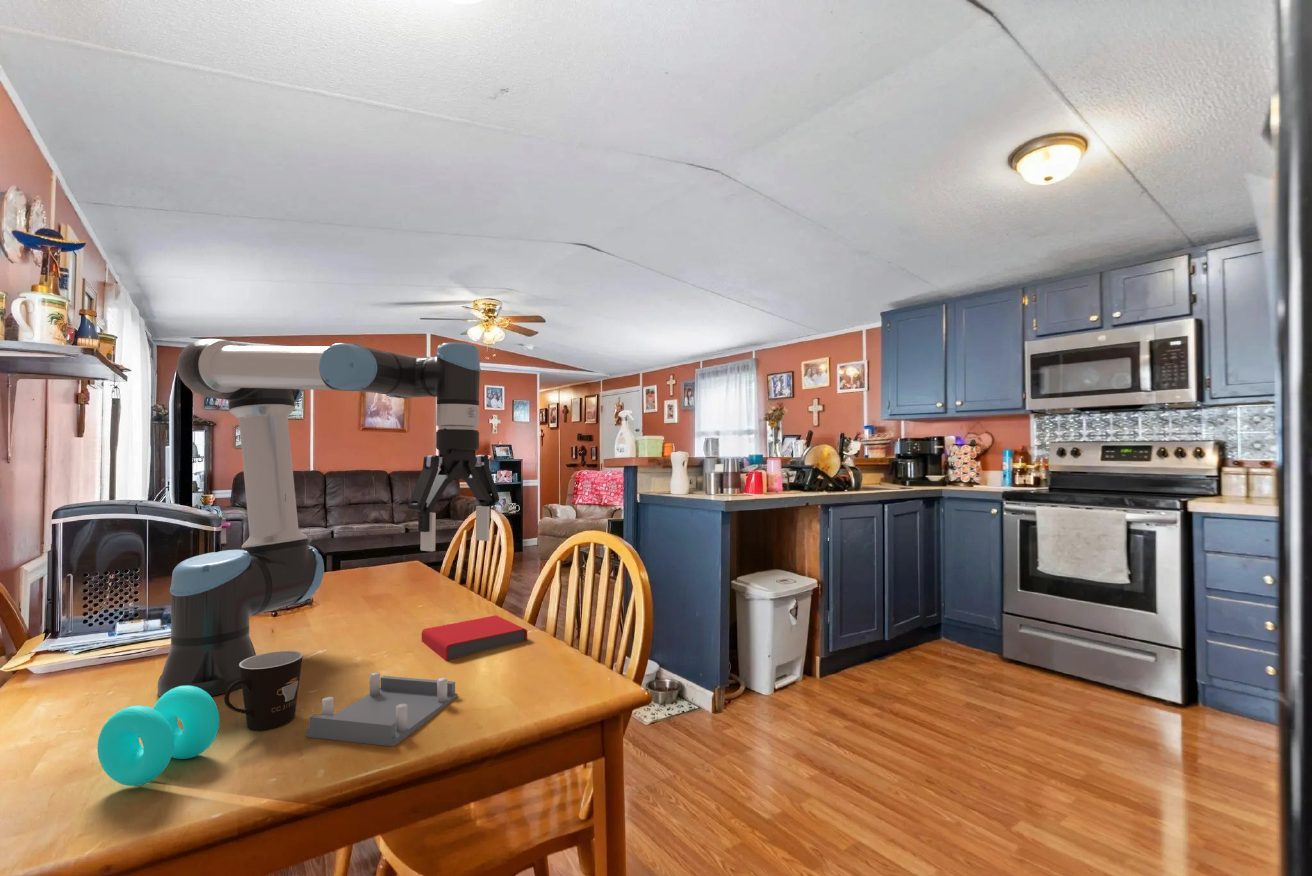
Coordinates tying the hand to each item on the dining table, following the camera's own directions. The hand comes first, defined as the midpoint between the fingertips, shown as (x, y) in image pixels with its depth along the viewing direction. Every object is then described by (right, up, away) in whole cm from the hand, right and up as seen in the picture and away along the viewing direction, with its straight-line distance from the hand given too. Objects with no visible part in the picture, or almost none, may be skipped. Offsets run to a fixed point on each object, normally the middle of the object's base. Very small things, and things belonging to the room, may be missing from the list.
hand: (456, 545), depth 112 cm
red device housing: (-3, -27, +21) cm, 34 cm away
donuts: (-31, -26, -29) cm, 49 cm away
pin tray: (-7, -26, -12) cm, 29 cm away
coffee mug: (-26, -26, -15) cm, 40 cm away
